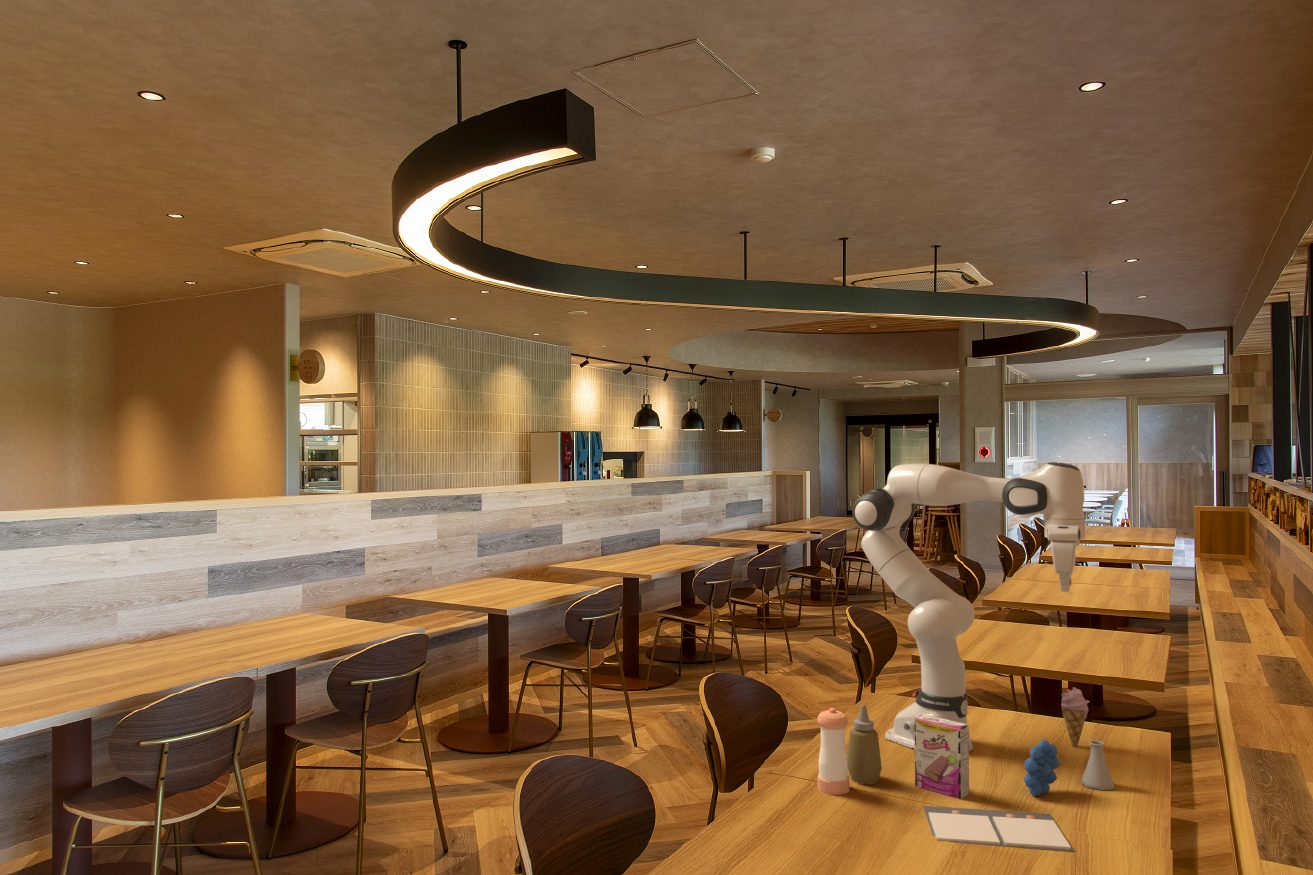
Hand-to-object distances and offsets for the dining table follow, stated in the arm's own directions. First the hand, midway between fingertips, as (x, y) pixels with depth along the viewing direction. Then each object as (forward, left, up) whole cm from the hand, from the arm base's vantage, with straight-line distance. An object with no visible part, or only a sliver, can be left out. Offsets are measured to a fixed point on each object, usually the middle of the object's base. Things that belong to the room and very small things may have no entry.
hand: (1066, 588), depth 201 cm
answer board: (-1, -39, -45) cm, 60 cm away
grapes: (-2, -13, -46) cm, 47 cm away
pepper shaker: (-36, -45, -46) cm, 73 cm away
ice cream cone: (-7, +25, -46) cm, 53 cm away
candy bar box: (-18, -28, -46) cm, 56 cm away
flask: (+6, +1, -46) cm, 46 cm away
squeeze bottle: (-34, -35, -46) cm, 67 cm away
